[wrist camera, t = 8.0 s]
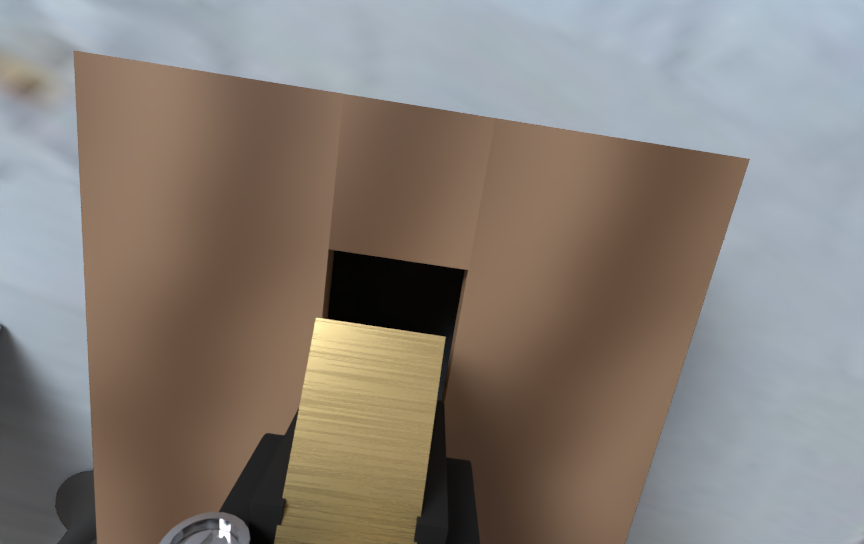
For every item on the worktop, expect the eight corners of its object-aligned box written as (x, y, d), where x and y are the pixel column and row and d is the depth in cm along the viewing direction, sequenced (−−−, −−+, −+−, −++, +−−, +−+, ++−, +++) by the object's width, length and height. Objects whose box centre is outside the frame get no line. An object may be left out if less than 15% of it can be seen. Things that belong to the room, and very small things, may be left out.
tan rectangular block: (445, 336, 8) (389, 741, 7) (428, 342, 14) (396, 562, 13) (315, 317, 8) (240, 724, 7) (354, 331, 14) (316, 551, 13)
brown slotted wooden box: (613, 151, 20) (749, 159, 11) (534, 468, 24) (589, 651, 16) (234, 90, 19) (73, 50, 11) (222, 426, 24) (99, 591, 15)
